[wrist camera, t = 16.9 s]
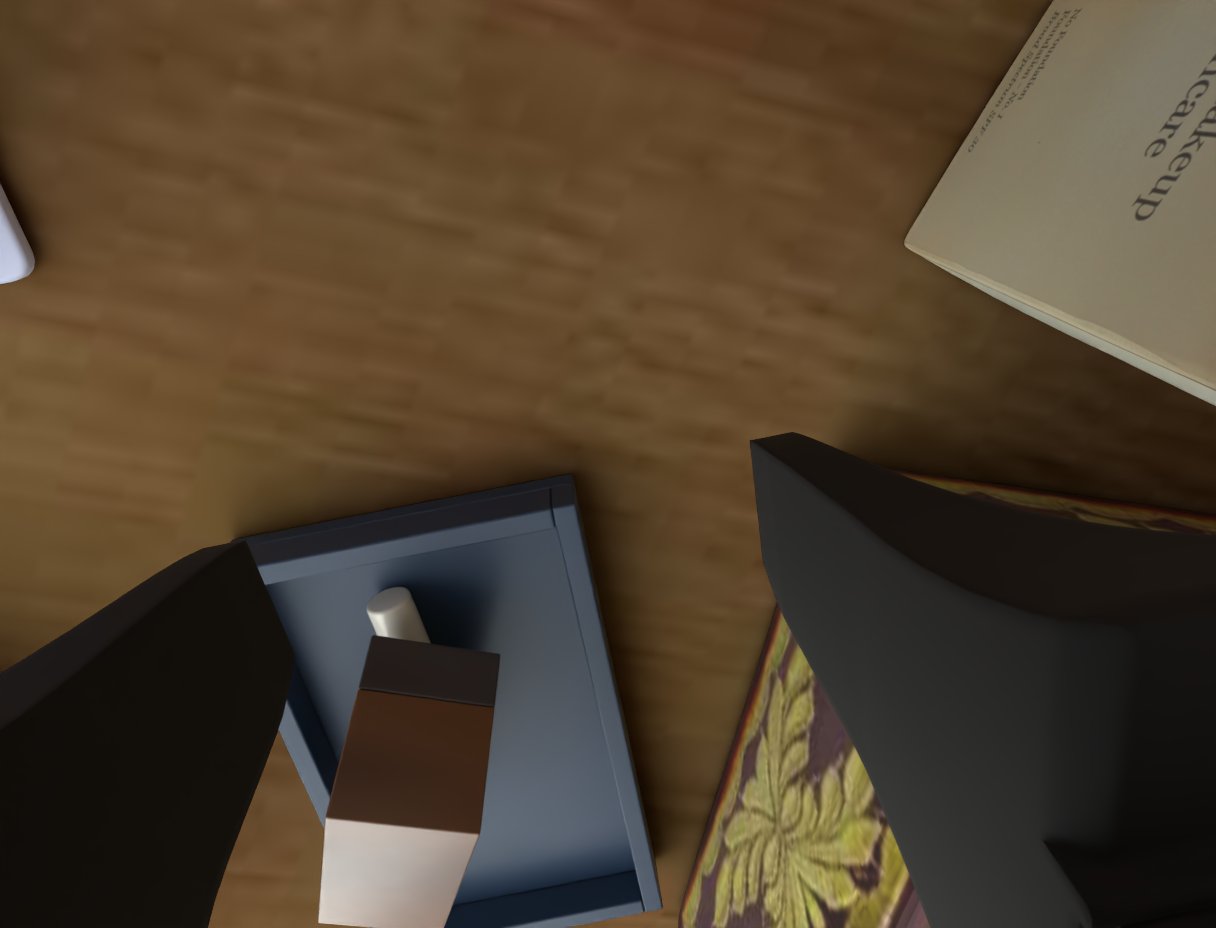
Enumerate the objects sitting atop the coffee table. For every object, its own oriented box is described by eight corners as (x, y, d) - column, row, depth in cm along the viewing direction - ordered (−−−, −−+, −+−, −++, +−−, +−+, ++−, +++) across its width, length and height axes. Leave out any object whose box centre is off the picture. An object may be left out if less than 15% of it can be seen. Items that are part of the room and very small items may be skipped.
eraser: (464, 770, 25) (441, 934, 21) (357, 757, 24) (317, 923, 21) (500, 653, 20) (480, 834, 17) (371, 633, 20) (324, 818, 16)
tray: (394, 913, 28) (385, 964, 26) (231, 538, 21) (206, 575, 20) (655, 861, 28) (663, 909, 26) (572, 472, 21) (575, 503, 20)
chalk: (431, 665, 23) (395, 690, 22) (396, 580, 22) (357, 603, 21) (453, 681, 22) (416, 707, 22) (417, 593, 21) (377, 619, 20)
